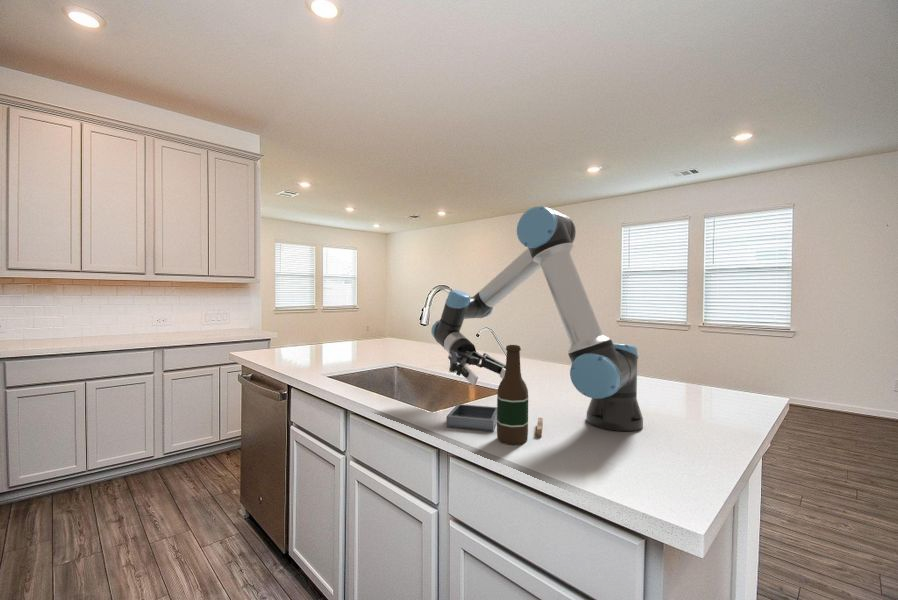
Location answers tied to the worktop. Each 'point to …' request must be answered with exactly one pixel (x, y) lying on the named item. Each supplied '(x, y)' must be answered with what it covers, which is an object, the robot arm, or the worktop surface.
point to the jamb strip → (539, 427)
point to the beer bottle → (512, 402)
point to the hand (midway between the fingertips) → (495, 382)
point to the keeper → (473, 417)
